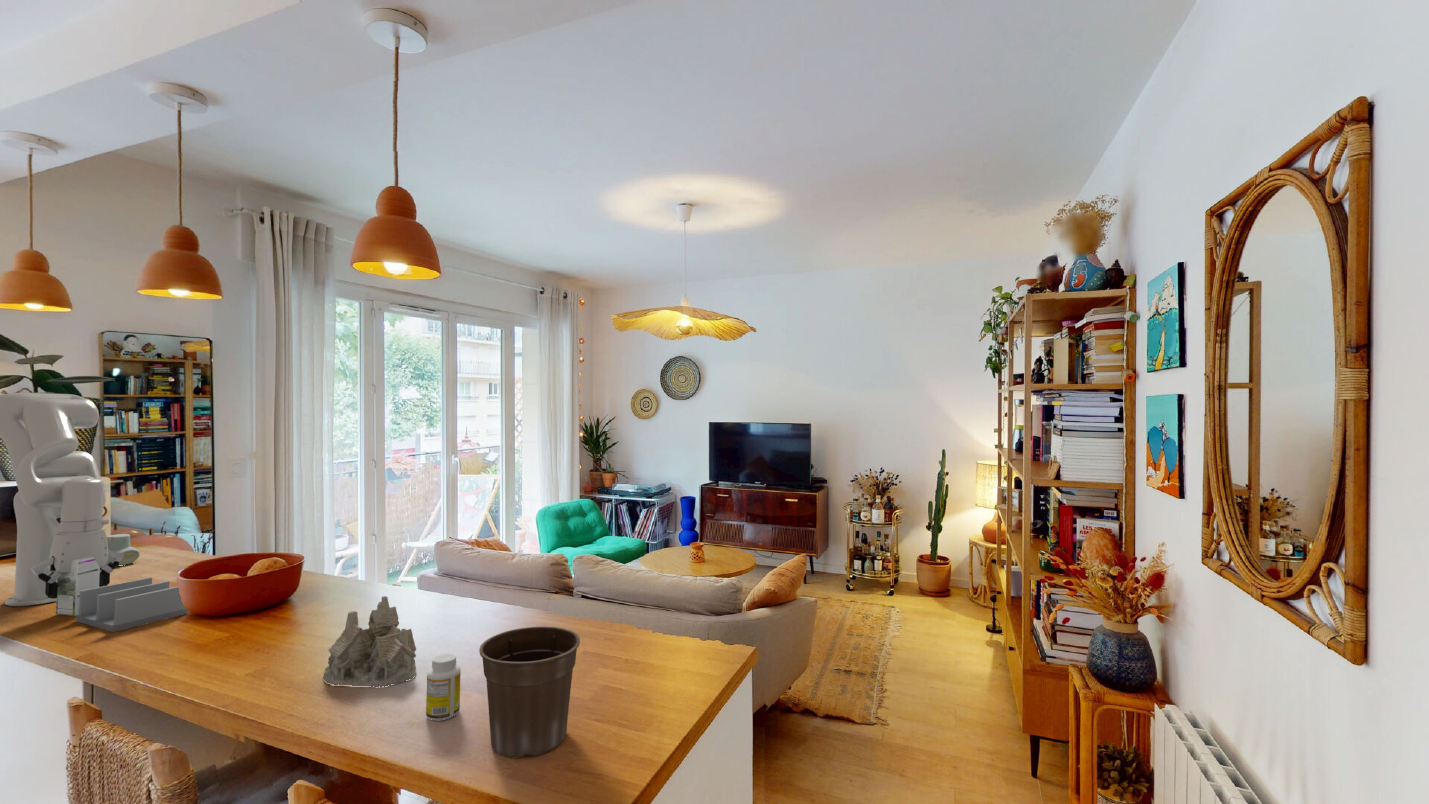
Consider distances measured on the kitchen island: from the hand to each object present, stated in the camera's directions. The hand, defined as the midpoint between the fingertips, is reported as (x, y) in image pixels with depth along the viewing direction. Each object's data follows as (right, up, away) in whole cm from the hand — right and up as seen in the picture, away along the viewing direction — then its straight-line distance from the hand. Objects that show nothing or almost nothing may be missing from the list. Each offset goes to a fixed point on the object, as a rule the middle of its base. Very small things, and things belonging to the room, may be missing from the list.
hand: (78, 592), depth 156 cm
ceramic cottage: (+95, -7, -32) cm, 100 cm away
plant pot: (+134, -7, -55) cm, 145 cm away
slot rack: (+17, -5, -3) cm, 18 cm away
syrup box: (0, -5, 0) cm, 5 cm away
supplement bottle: (+116, -7, -48) cm, 126 cm away
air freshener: (-35, -6, +46) cm, 58 cm away
